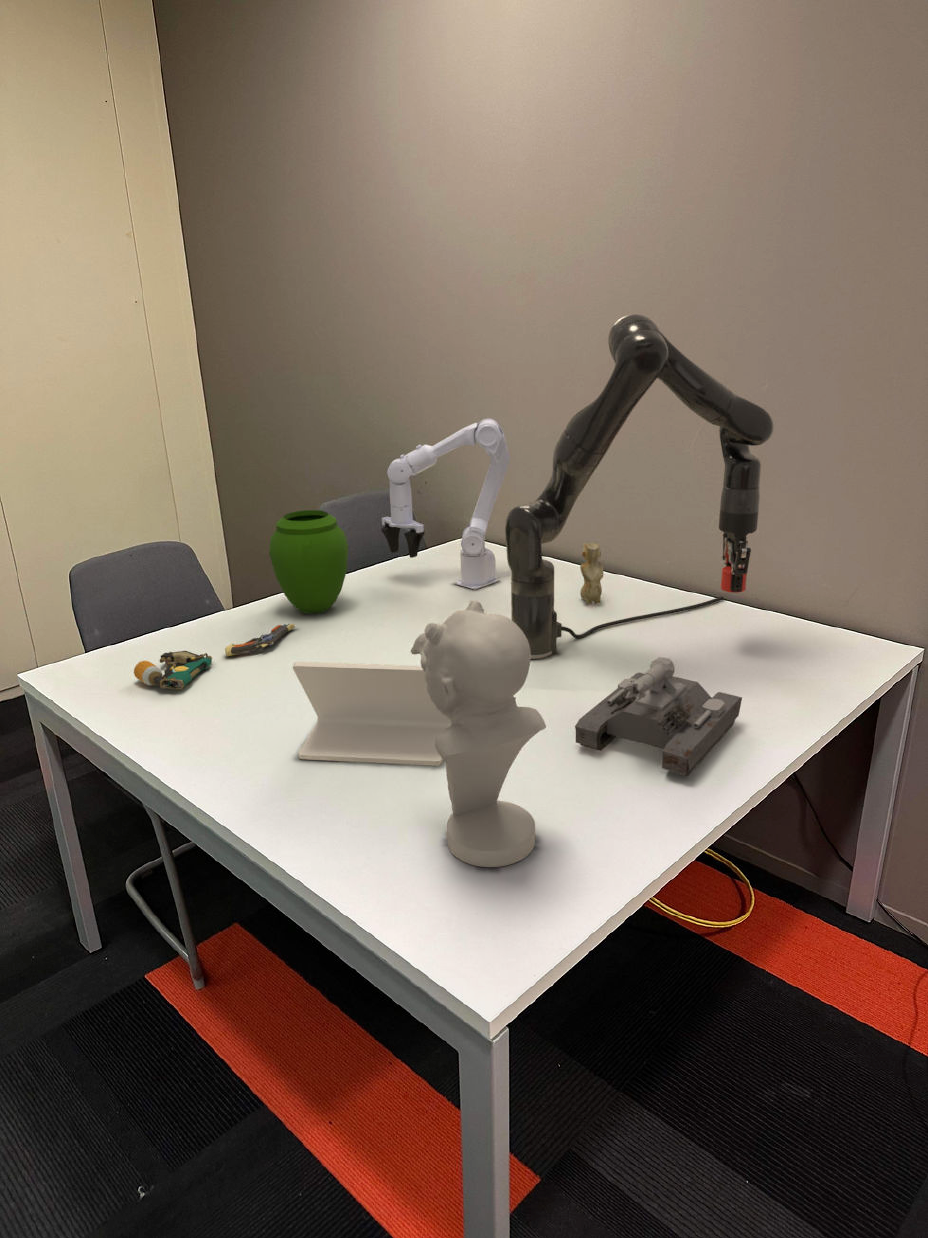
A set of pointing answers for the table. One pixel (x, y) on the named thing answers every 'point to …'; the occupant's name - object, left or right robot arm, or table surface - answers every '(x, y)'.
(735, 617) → the table surface
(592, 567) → the sculpture
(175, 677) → the multicoloured piece
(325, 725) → the tablet stand
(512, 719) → the bust sculpture
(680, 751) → the toy
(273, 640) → the toy gun
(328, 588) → the vase
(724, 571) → the can
